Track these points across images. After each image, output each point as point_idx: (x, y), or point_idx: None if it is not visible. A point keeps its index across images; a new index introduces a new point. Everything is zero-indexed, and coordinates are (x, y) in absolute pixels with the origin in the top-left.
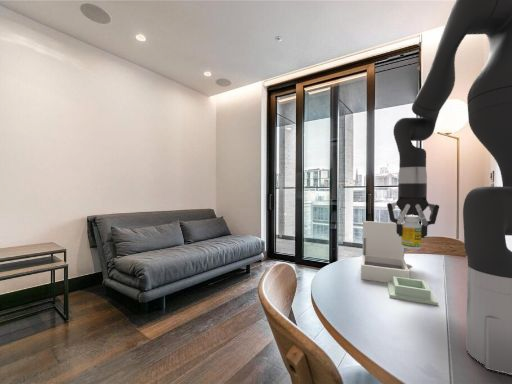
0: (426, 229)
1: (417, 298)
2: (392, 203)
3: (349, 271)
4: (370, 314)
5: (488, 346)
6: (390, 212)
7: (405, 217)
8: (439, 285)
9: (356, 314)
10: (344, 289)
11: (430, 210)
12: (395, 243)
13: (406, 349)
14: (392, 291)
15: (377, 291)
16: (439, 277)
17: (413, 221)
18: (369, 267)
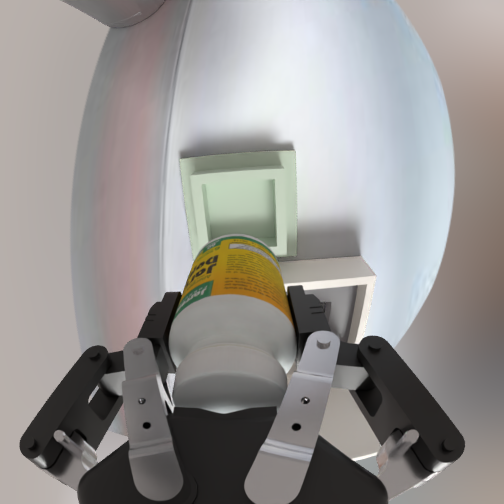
0: (145, 328)
1: (225, 160)
2: (419, 479)
3: (382, 295)
4: (333, 36)
5: None
6: (415, 391)
7: (281, 384)
8: None
9: (359, 28)
10: (399, 156)
11: (86, 441)
12: None
13: None
14: (287, 179)
15: (324, 179)
16: None
17: (215, 347)
18: (352, 275)
